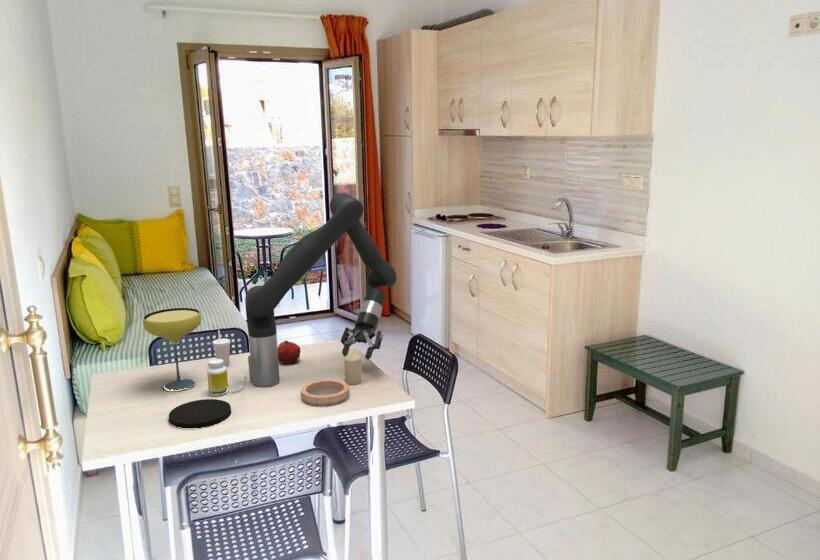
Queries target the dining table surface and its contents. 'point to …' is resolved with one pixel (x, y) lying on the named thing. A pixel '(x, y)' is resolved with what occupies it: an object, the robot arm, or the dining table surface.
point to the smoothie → (222, 349)
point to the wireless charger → (200, 413)
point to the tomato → (288, 352)
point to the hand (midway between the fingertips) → (355, 357)
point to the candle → (352, 369)
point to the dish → (325, 392)
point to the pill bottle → (217, 377)
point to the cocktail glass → (173, 333)
